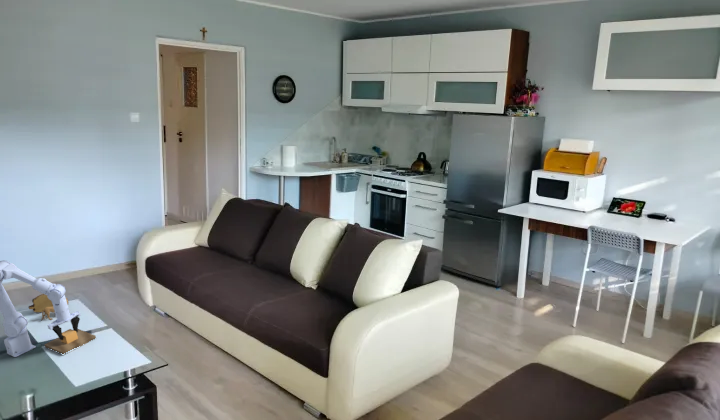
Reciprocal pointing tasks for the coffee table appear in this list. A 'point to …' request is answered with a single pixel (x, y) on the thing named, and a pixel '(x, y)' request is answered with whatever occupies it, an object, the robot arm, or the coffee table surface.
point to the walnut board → (63, 347)
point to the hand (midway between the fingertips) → (68, 335)
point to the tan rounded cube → (69, 336)
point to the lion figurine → (49, 309)
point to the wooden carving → (40, 303)
